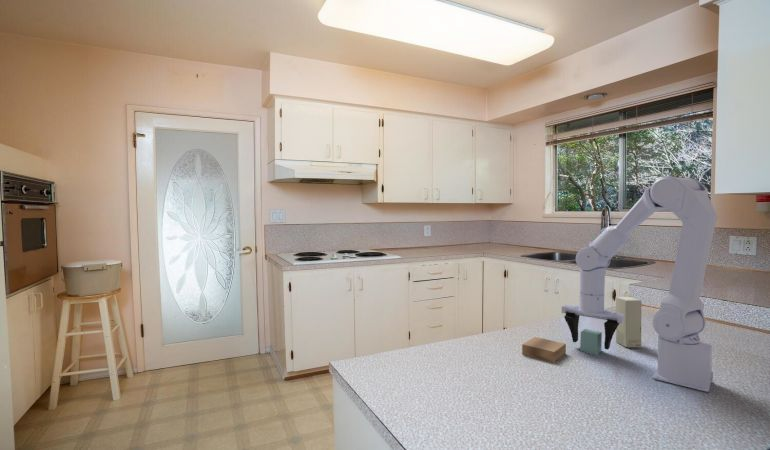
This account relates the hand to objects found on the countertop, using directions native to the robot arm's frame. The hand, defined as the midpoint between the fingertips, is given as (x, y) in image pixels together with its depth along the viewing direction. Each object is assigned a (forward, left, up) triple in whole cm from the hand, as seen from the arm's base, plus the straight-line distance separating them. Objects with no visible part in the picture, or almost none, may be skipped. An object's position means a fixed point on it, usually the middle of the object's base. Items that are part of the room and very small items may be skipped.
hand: (590, 344), depth 102 cm
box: (-6, -12, -2) cm, 14 cm away
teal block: (0, 0, -2) cm, 2 cm away
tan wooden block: (+8, +11, -2) cm, 14 cm away
